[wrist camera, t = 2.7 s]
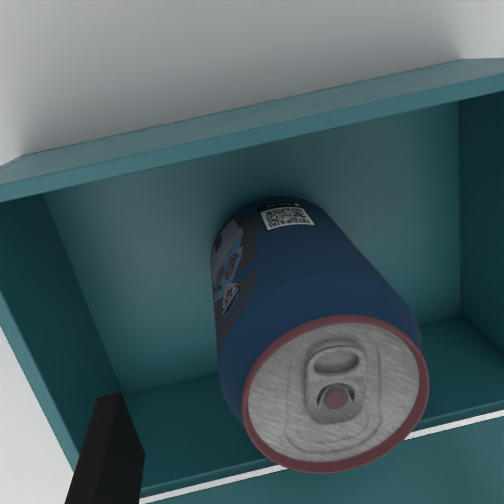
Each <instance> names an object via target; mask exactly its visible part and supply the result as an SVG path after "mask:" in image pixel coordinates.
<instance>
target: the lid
mask: <svg viewBox="0 0 504 504" xmlns="http://www.w3.org/2000/svg"><path fill="white" fill-rule="evenodd" d="M146 504H504V416H501V417H497V418H493V419H489V420H485V421H481V422H477V423H473V424H469V425H465V426H461V427H456V428H452V429H448V430H444V431H440V432H436V433H432V434H428V435H424V436H420V437H416V438H412V439H407V440H403V441H402V442H401V443H400V444H398V445H397V446H396V447H395V448H394V449H392V450H391V451H389V452H388V453H387V454H385V455H383V456H382V457H380V458H378V459H376V460H374V461H372V462H370V463H368V464H366V465H363V466H360V467H358V468H354V469H351V470H347V471H342V472H336V473H325V474H315V473H305V472H299V471H295V470H291V469H285V470H281V471H277V472H273V473H269V474H265V475H261V476H256V477H252V478H248V479H244V480H240V481H236V482H232V483H228V484H224V485H220V486H216V487H212V488H208V489H203V490H199V491H195V492H191V493H187V494H183V495H179V496H175V497H171V498H167V499H163V500H159V501H154V502H150V503H146Z"/></svg>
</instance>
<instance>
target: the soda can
mask: <svg viewBox="0 0 504 504" xmlns="http://www.w3.org/2000/svg"><path fill="white" fill-rule="evenodd" d="M211 277H212V290H213V303H214V316H215V329H216V342H217V355H218V368H219V380H220V386H221V390H222V394H223V396H224V399H225V401H226V403H227V405H228V407H229V408H230V410H231V412H232V413H233V414H234V416H235V417H236V418H237V419H238V420H239V421H240V422H241V424H242V425H243V426H244V427H245V429H246V432H247V434H248V436H249V438H250V439H251V441H252V442H253V444H254V445H255V447H256V448H257V449H258V450H259V451H260V452H261V453H262V454H263V455H264V456H266V457H267V458H268V459H270V460H271V461H273V462H275V463H277V464H279V465H281V466H283V467H285V468H288V469H291V470H295V471H299V472H305V473H315V474H325V473H336V472H342V471H347V470H351V469H354V468H358V467H360V466H363V465H366V464H368V463H370V462H372V461H374V460H376V459H378V458H380V457H382V456H383V455H385V454H387V453H388V452H389V451H391V450H392V449H394V448H395V447H396V446H397V445H398V444H400V443H401V442H402V441H403V440H404V439H405V438H406V437H407V436H408V435H409V434H410V433H411V431H412V430H413V429H414V428H415V426H416V425H417V424H418V422H419V421H420V419H421V417H422V415H423V413H424V411H425V408H426V405H427V401H428V396H429V386H430V384H429V372H428V368H427V365H426V362H425V360H424V357H423V349H422V337H421V332H420V328H419V325H418V322H417V320H416V318H415V316H414V314H413V312H412V310H411V309H410V307H409V306H408V305H407V303H406V302H405V301H404V300H403V299H402V298H401V297H400V295H399V294H398V293H397V292H396V291H395V290H394V289H393V288H392V286H391V285H390V284H389V283H388V282H387V281H386V280H385V278H384V277H383V276H382V275H381V274H380V273H379V272H378V271H377V269H376V268H375V267H374V266H373V265H372V264H371V263H370V261H369V260H368V259H367V258H366V257H365V256H364V255H363V254H362V252H361V251H360V250H359V249H358V248H357V247H356V246H355V244H354V243H353V242H352V241H351V240H350V239H349V238H348V237H347V235H346V234H345V233H344V232H343V231H342V230H341V229H340V228H339V226H338V225H337V224H336V223H335V222H334V221H333V220H332V218H331V217H330V216H329V215H328V214H327V213H326V212H325V211H324V210H322V209H321V208H320V207H318V206H317V205H315V204H313V203H311V202H309V201H307V200H304V199H301V198H297V197H292V196H271V197H266V198H262V199H259V200H256V201H253V202H251V203H249V204H247V205H245V206H243V207H242V208H240V209H239V210H238V211H236V212H235V213H234V214H233V215H232V216H231V217H230V218H229V219H228V220H227V221H226V222H225V223H224V225H223V226H222V227H221V229H220V231H219V232H218V234H217V236H216V238H215V241H214V244H213V247H212V252H211Z"/></svg>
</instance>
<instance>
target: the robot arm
mask: <svg viewBox="0 0 504 504" xmlns="http://www.w3.org/2000/svg"><path fill="white" fill-rule="evenodd" d="M145 455H146V454H145V452H144V449H143V447H142V444H141V442H140V439H139V437H138V434H137V432H136V429H135V427H134V424H133V421H132V419H131V416H130V414H129V411H128V409H127V406H126V404H125V401H124V399H123V396H122V394H121V392H118V393H114V394H109V395H105V396H101V397H97V400H96V403H95V406H94V409H93V413H92V416H91V419H90V423H89V426H88V429H87V432H86V436H85V439H84V442H83V445H82V449H81V452H80V455H79V459H78V462H77V465H76V468H75V472H74V475H73V478H72V481H71V485H70V488H69V491H68V494H67V498H66V501H65V504H139V500H140V492H141V485H142V477H143V470H144V462H145Z"/></svg>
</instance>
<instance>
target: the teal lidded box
mask: <svg viewBox="0 0 504 504" xmlns="http://www.w3.org/2000/svg"><path fill="white" fill-rule="evenodd" d="M271 196H292V197H297V198H301V199H304V200H307V201H309V202H311V203H313V204H315V205H317V206H318V207H320V208H321V209H322V210H324V211H325V212H326V213H327V214H328V215H329V216H330V217H331V218H332V220H333V221H334V222H335V223H336V224H337V225H338V226H339V228H340V229H341V230H342V231H343V232H344V233H345V234H346V235H347V237H348V238H349V239H350V240H351V241H352V242H353V243H354V244H355V246H356V247H357V248H358V249H359V250H360V251H361V252H362V254H363V255H364V256H365V257H366V258H367V259H368V260H369V261H370V263H371V264H372V265H373V266H374V267H375V268H376V269H377V271H378V272H379V273H380V274H381V275H382V276H383V277H384V278H385V280H386V281H387V282H388V283H389V284H390V285H391V286H392V288H393V289H394V290H395V291H396V292H397V293H398V294H399V295H400V297H401V298H402V299H403V300H404V301H405V302H406V303H407V305H408V306H409V307H410V309H411V310H412V312H413V314H414V316H415V318H416V320H417V322H418V325H419V328H420V332H421V337H422V349H423V357H424V360H425V362H426V365H427V368H428V372H429V384H430V386H429V396H428V401H427V405H426V408H425V411H424V413H423V415H422V417H421V419H420V421H419V422H418V424H417V425H416V426H415V428H414V429H413V430H412V431H411V432H414V431H418V430H422V429H426V428H430V427H435V426H439V425H443V424H447V423H451V422H455V421H459V420H463V419H467V418H471V417H475V416H479V415H484V414H488V413H492V412H496V411H500V410H504V58H485V59H461V60H456V61H451V62H447V63H442V64H438V65H433V66H429V67H424V68H420V69H415V70H410V71H406V72H401V73H397V74H392V75H388V76H383V77H379V78H374V79H369V80H365V81H360V82H356V83H351V84H347V85H342V86H338V87H333V88H328V89H324V90H319V91H315V92H310V93H306V94H301V95H297V96H292V97H287V98H283V99H278V100H274V101H269V102H265V103H260V104H256V105H251V106H246V107H242V108H237V109H233V110H228V111H224V112H219V113H214V114H210V115H205V116H201V117H196V118H192V119H187V120H183V121H178V122H173V123H169V124H164V125H160V126H155V127H151V128H146V129H142V130H137V131H132V132H128V133H123V134H119V135H114V136H110V137H105V138H101V139H96V140H91V141H87V142H82V143H78V144H73V145H69V146H64V147H60V148H55V149H50V150H46V151H41V152H37V153H32V154H28V155H23V156H20V157H18V158H16V159H14V160H12V161H10V162H8V163H6V164H4V165H2V166H0V326H1V328H2V330H3V332H4V334H5V336H6V338H7V340H8V342H9V344H10V346H11V348H12V350H13V352H14V354H15V356H16V358H17V360H18V362H19V364H20V366H21V368H22V370H23V372H24V374H25V376H26V378H27V380H28V382H29V384H30V386H31V388H32V390H33V392H34V394H35V396H36V398H37V400H38V402H39V404H40V406H41V408H42V410H43V412H44V414H45V416H46V418H47V420H48V422H49V424H50V426H51V428H52V430H53V432H54V434H55V436H56V438H57V440H58V442H59V444H60V446H61V448H62V450H63V452H64V454H65V456H66V458H67V460H68V462H69V464H70V466H71V468H72V470H73V472H75V468H76V465H77V462H78V459H79V455H80V452H81V449H82V445H83V442H84V439H85V436H86V432H87V429H88V426H89V423H90V419H91V416H92V413H93V409H94V406H95V403H96V400H97V397H101V396H105V395H109V394H114V393H118V392H121V394H122V396H123V399H124V401H125V404H126V406H127V409H128V411H129V414H130V416H131V419H132V421H133V424H134V427H135V429H136V432H137V434H138V437H139V439H140V442H141V444H142V447H143V449H144V452H145V454H146V455H145V462H144V470H143V477H142V485H141V492H140V498H144V497H148V496H152V495H157V494H161V493H165V492H169V491H173V490H177V489H181V488H185V487H189V486H193V485H197V484H201V483H206V482H210V481H214V480H218V479H222V478H226V477H230V476H234V475H238V474H242V473H246V472H251V471H255V470H259V469H263V468H267V467H271V466H275V465H279V464H277V463H275V462H273V461H271V460H270V459H268V458H267V457H266V456H264V455H263V454H262V453H261V452H260V451H259V450H258V449H257V448H256V447H255V445H254V444H253V442H252V441H251V439H250V438H249V436H248V434H247V432H246V429H245V427H244V426H243V425H242V424H241V422H240V421H239V420H238V419H237V418H236V417H235V416H234V414H233V413H232V412H231V410H230V408H229V407H228V405H227V403H226V401H225V399H224V396H223V394H222V390H221V386H220V380H219V368H218V355H217V342H216V329H215V316H214V303H213V290H212V277H211V252H212V247H213V244H214V241H215V238H216V236H217V234H218V232H219V231H220V229H221V227H222V226H223V225H224V223H225V222H226V221H227V220H228V219H229V218H230V217H231V216H232V215H233V214H234V213H235V212H236V211H238V210H239V209H240V208H242V207H243V206H245V205H247V204H249V203H251V202H253V201H256V200H259V199H262V198H266V197H271Z"/></svg>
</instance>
